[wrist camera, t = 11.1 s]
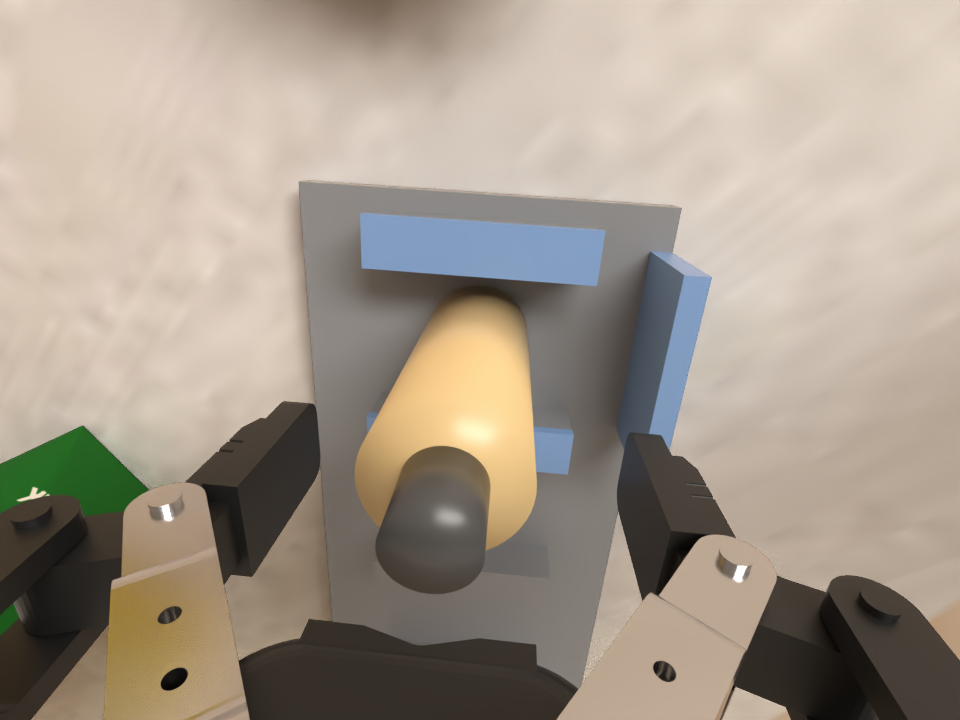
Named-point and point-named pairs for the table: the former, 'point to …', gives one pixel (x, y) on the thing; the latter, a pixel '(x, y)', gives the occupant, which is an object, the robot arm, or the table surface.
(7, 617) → the milk carton
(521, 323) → the yellow bottle
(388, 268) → the slotted grey board
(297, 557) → the table surface
